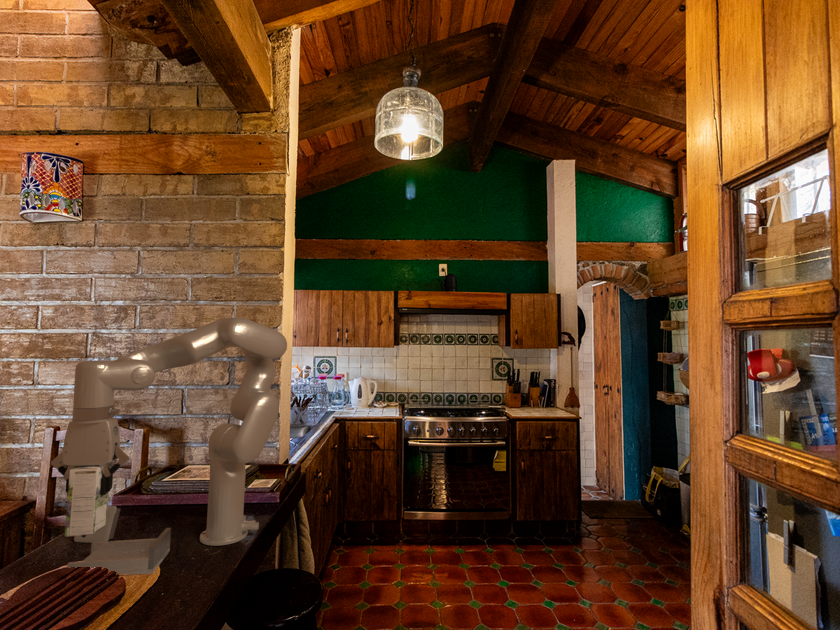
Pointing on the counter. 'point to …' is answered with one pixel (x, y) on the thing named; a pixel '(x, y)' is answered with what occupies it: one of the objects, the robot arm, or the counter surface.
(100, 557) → the grey u-shaped piece
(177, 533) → the counter surface
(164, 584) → the counter surface
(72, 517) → the syrup box
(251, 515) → the counter surface
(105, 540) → the electrical switch
